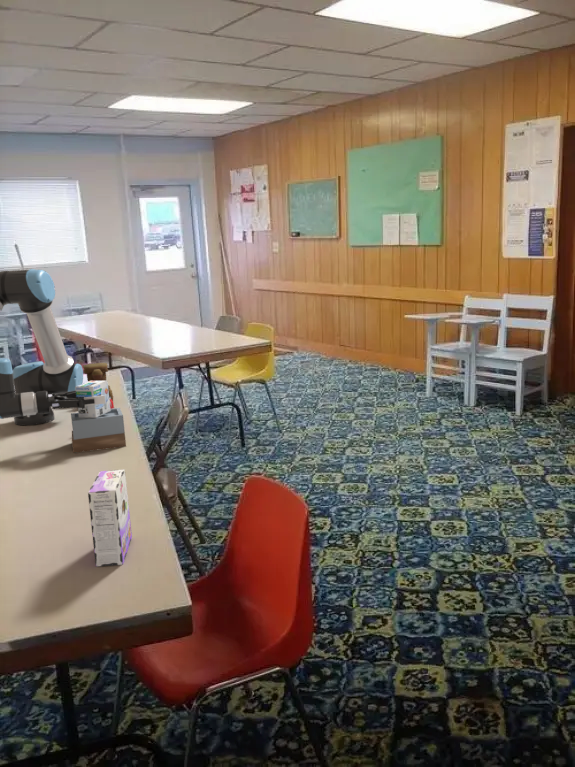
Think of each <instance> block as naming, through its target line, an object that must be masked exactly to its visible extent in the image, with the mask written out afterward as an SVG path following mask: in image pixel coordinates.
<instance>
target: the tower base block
mask: <svg viewBox="0 0 575 767" xmlns="http://www.w3.org/2000/svg"><path fill="white" fill-rule="evenodd" d="M125 434H126V432H125V433H122V434H114V435H106V436H98V437H91V438H83V439H75V440H74V437H73V430H71V444H72V452H73V454H75V453H74V452H77V453H83V452H82V451H85V452H91V451H90V450H93V451H98V450H97V449H101V450H107V449H106V448H109V449H115V448H114V447H117V448H124V447H123V446H125V447H127V441H126V435H125Z"/></svg>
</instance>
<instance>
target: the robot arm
mask: <svg viewBox="0 0 575 767" xmlns="http://www.w3.org/2000/svg"><path fill="white" fill-rule="evenodd" d="M55 288H56V287H55V283H54V280H53V279H52V276H51V275H50V274H49V272H47V271H46V270H44V269H36V268H29V269H21V270H19V269H18V270H16V269H15V270H1V271H0V313H1V312H2V311H3V309H4V307H5V305H16V304H17V305H18V307H19V310H20V311H21V312H22V313H23V314H26V315H27V318H28V321H29V323H30V327H31V329H32V331H33V333H34V336H35V339H36V342H37V344H38V348H39V350H40V352H41V356H42V358H43V361H42V360H40V361H33V362H29V363H24V364H20V365H17V366H15V367H14V368H13V366H12V362H11V359H10V358H8V357H0V419H2V420H4V419H8V418H9V419H10V418H13V422H14V424H15V425H18V426H33V425H41V424H45V423H48V422H51V421H54V420H55V412H54V410H56V409H58V410H59V409H75V408H76V409H78V408H82V409H84V408H85V406H89V405H98V404H105V395H102V396H92V397H84V398H77V397H76V389H75V387H76V386H78V385H81V384H83V383H84V382H83V381H84V368H83V366H82V364H81V363H75V361H74V358H73V357H72V356H71V355H69V354H68V353H67V351H66V347H65V345H64V342H63V339H62V337H61V334H60V331H59V328H58V325H57V322H56V319H55V317H54V313H53V310H52V307H51V306H52V305H53V301H54V299H55V298H56V290H55ZM49 395H51V396H49Z"/></svg>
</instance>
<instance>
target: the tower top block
mask: <svg viewBox="0 0 575 767" xmlns="http://www.w3.org/2000/svg"><path fill="white" fill-rule="evenodd" d="M110 410H111V411H109V412H107V413H105V414H103V415H101V416H99V417H97V418H79V415H78V412H73V413H71V412H70V418H71V427H72V431H73V437H74V440H75V439H83V438H91V437H98V436H106V435H114V434H122V433H125V434H126V432H125V423H124V422H125V420H124V414H123V412H122V410H121V407H114V408H113V409H110Z"/></svg>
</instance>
